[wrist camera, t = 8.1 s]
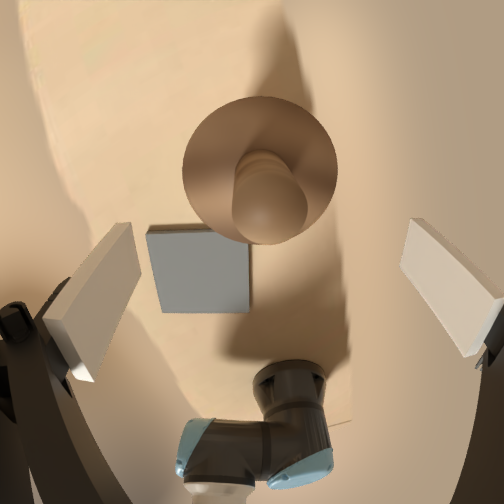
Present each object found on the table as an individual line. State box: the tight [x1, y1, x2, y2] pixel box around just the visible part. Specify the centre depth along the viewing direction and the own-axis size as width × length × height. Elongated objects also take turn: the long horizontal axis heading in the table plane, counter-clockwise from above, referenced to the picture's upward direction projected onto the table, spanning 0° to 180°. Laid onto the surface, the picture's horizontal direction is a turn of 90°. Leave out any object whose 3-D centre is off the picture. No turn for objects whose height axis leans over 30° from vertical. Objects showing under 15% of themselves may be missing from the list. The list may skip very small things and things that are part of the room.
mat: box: [145, 229, 249, 313], centre depth 42 cm, size 14×14×1 cm
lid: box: [182, 96, 338, 245], centre depth 19 cm, size 12×12×9 cm
